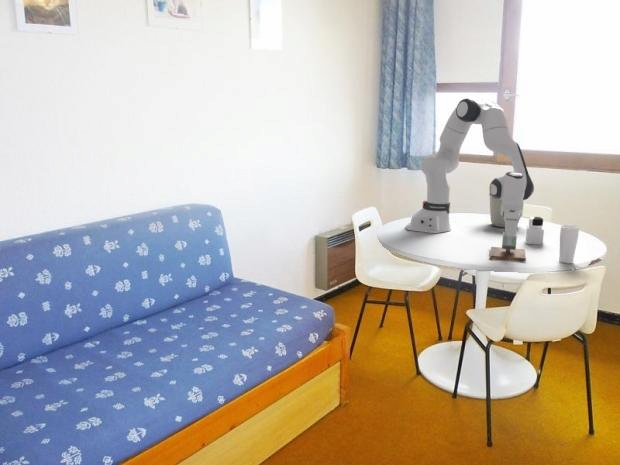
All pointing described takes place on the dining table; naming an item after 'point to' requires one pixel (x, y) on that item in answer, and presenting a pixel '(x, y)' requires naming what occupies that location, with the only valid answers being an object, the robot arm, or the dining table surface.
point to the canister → (496, 212)
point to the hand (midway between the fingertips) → (508, 242)
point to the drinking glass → (568, 243)
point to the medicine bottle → (535, 231)
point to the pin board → (507, 254)
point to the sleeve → (504, 242)
